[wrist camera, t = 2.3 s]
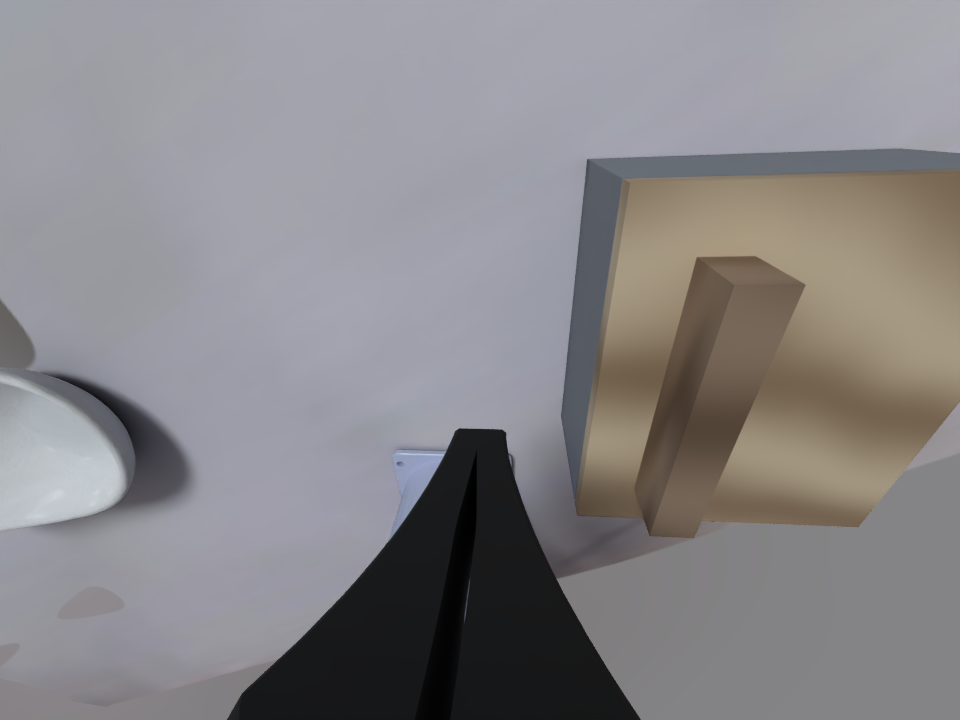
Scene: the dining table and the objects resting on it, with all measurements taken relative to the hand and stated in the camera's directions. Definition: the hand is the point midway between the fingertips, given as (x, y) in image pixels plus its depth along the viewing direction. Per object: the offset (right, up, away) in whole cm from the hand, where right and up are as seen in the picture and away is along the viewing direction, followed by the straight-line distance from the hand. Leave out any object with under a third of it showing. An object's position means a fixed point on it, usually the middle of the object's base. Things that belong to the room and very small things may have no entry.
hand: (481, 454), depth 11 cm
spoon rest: (-33, -3, +18) cm, 38 cm away
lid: (+10, +2, +3) cm, 11 cm away
